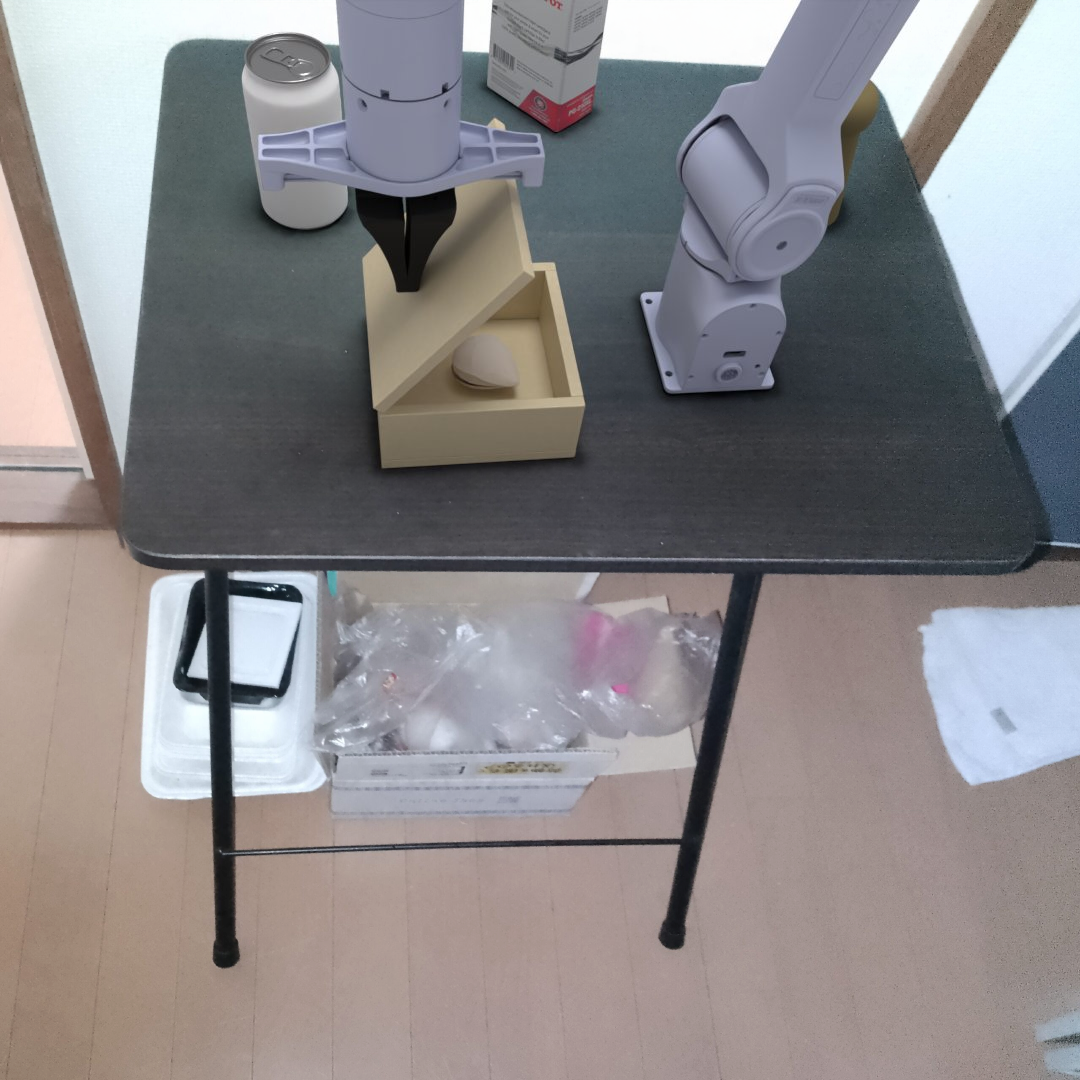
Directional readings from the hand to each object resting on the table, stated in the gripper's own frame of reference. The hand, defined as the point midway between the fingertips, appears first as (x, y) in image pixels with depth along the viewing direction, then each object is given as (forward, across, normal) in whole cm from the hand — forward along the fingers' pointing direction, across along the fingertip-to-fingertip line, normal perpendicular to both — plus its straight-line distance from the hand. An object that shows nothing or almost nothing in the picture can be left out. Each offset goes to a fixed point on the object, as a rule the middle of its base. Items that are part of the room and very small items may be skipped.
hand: (406, 280), depth 58 cm
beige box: (+10, -4, 0) cm, 11 cm away
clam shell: (+9, -5, 0) cm, 11 cm away
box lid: (-1, -2, 0) cm, 2 cm away
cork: (+10, -34, -18) cm, 39 cm away
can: (+10, +6, -19) cm, 22 cm away
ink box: (+10, -14, -32) cm, 36 cm away
